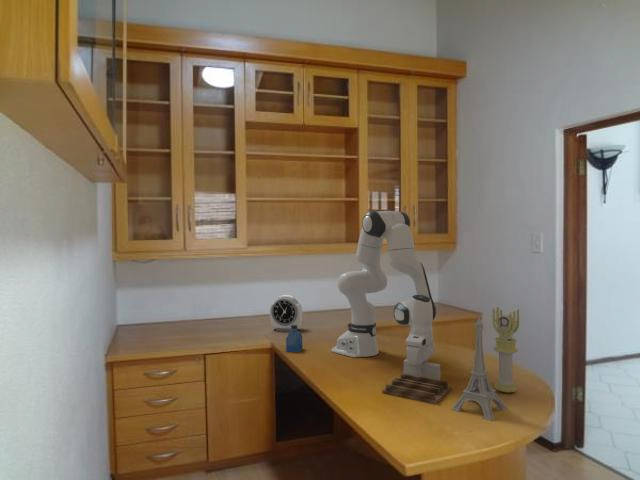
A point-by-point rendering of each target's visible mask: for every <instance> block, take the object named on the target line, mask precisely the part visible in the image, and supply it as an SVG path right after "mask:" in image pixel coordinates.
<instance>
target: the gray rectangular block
mask: <svg viewBox="0 0 640 480" xmlns="http://www.w3.org/2000/svg"><path fill="white" fill-rule="evenodd" d="M421 368H422V373H421V374H418V373H417V369H416V367H414V366H409V365H408V363H407V358H405V359H404V360H403V374H408V375H413V376H419V377H424V378H430V379H435V380H441V364H440V363H434V362H423V363H422V365H421Z"/></svg>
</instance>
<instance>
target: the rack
mask: <svg viewBox="0 0 640 480" xmlns="http://www.w3.org/2000/svg"><path fill="white" fill-rule="evenodd" d="M448 383H449V382H448V381H445V380H441V379H440V380H435V379H430V378H424V377H419V376H413V375H408V374H404V373H400V377H394V379H392V380H391V383H386V384H385V387H384V388H383V389H382V391H381V392H382V394H385V393H386V395H390V396H395V397H400V398H404V399H410V400H414V401H419V402H424V403H428V404H433V405H437V404H439V402H440V401H441V400H443V398H444V397H445V396H447V395H448V394H449V393H450V392H451V391H452V387H451V386H449V384H448Z"/></svg>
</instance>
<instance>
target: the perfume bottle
mask: <svg viewBox="0 0 640 480" xmlns="http://www.w3.org/2000/svg"><path fill="white" fill-rule="evenodd" d="M298 330H299V327H298V328H297V325H291V331H289V333H288V334H287V336H286V338H285V339H286V340H285V347H286V348H285V350H286V351H285V352H289V353H290V352H291V353H292V352H293V353H300V351H302V350H303V335H302V333H301V332H300V331H298Z"/></svg>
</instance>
